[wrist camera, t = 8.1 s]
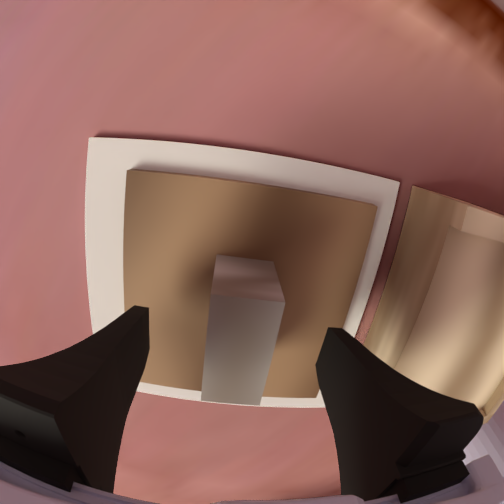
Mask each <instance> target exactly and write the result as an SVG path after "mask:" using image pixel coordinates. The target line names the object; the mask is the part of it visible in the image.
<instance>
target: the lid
mask: <svg viewBox="0 0 504 504" xmlns="http://www.w3.org/2000/svg"><path fill="white" fill-rule="evenodd" d="M377 208H378V206H376V205H374V204H372V203H367V202H362V201H357V200H352V199H347V198H342V197H337V196H332V195H326V194H321V193H315V192H310V191H304V190H298V189H292V188H286V187H280V186H274V185H267V184H261V183H254V182H247V181H240V180H233V179H225V178H217V177H209V176H201V175H192V174H183V173H174V172H164V171H153V170H142V169H129V170H127V174H126V187H125V204H124V230H123V285H124V311H125V312H126V311H127V310H129V309H130V308H131V307H133V306H134V305H136V306H142V307H149V336H150V350H149V354H148V358H147V362H146V366H145V370H144V372H143V375H142V377H141V380H140V382H143V383H149V384H154V385H160V386H167V387H173V388H180V389H187V390H195V391H201V401H210V402H219V403H230V404H243V405H259V406H260V402H261V399H262V397H281V398H316V397H317V395H318V392H319V390H320V388H319V385H318V379H317V373H316V366H315V364H316V362H317V359H318V356H319V353H320V350H321V347H322V344H323V341H324V338H325V335H326V332H327V329H328V327H335V328H343V326H344V323H345V320H346V317H347V314H348V311H349V308H350V305H351V302H352V299H353V296H354V292H355V289H356V286H357V283H358V279H359V276H360V272H361V269H362V266H363V262H364V258H365V255H366V251H367V248H368V244H369V240H370V236H371V232H372V228H373V224H374V220H375V216H376V212H377Z"/></svg>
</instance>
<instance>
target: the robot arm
mask: <svg viewBox="0 0 504 504" xmlns="http://www.w3.org/2000/svg"><path fill="white" fill-rule="evenodd" d="M149 350H150V336H149V307H142V306H136V305H134V306H133V307H131V308H130V309H129V310H127V311H126V312H124V313H123V314H122V315H120V316H119V317H118V318H116V319H115V320H114V321H112V322H111V323H110V324H108V325H107V326H105V327H104V328H102V329H101V330H99V331H98V332H96V333H94V334H93V335H91V336H90V337H88V338H86V339H85V340H83V341H81V342H79V343H77V344H75V345H73V346H71V347H69V348H67V349H65V350H62V351H59V352H57V353H54V354H52V355H49V356H46V357H43V358H40V359H36V360H32V361H28V362H24V363H19V364H13V365H7V366H0V504H158V503H152V502H147V501H142V500H137V499H133V498H128V497H124V496H120V495H116V494H113V490H114V481H115V474H116V467H117V461H118V455H119V450H120V444H121V439H122V435H123V430H124V426H125V422H126V418H127V415H128V411H129V408H130V406H131V403H132V401H133V398H134V395H135V393H136V390H137V388H138V385H139V383H140V380H141V377H142V375H143V372H144V370H145V366H146V362H147V358H148V354H149ZM315 366H316V373H317V379H318V385H319V388H320V391H321V394H322V398H323V401H324V404H325V407H326V410H327V413H328V416H329V419H330V422H331V425H332V429H333V433H334V438H335V443H336V449H337V455H338V463H339V470H340V482H341V495H334V496H326V497H317V498H305V499H290V500H235V501H220V502H216V503H212V504H504V401H503V402H502V403H501V405H500V406H499V408H498V409H497V410H496V412H495V413H494V415H493V416H492V417H491V419H490V420H489V421H488V422H487V423H485V424H483V420H484V417H483V415H482V414H481V412H480V411H479V410H478V408H477V407H476V405H475V404H474V403H470V402H466V401H462V400H459V399H455V398H452V397H449V396H446V395H443V394H440V393H438V392H435V391H433V390H431V389H428V388H426V387H424V386H422V385H420V384H418V383H416V382H414V381H412V380H411V379H409V378H407V377H406V376H404V375H402V374H401V373H399V372H397V371H396V370H394V369H393V368H392V367H390V366H389V365H387V364H386V363H385V362H383V361H382V360H381V359H379V358H378V357H377V356H376V355H374V354H373V353H372V352H371V351H369V350H368V349H367V348H366V347H365V346H364V345H362V344H361V343H360V342H359V341H358V340H356V339H355V338H354V337H353V336H352V335H350V334H349V333H348V332H347V331H345V330H344V329H343V328H335V327H328V329H327V332H326V335H325V338H324V341H323V344H322V347H321V350H320V353H319V356H318V359H317V362H316V364H315Z"/></svg>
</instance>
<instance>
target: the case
mask: <svg viewBox="0 0 504 504" xmlns="http://www.w3.org/2000/svg"><path fill="white" fill-rule="evenodd" d="M364 346H365V347H366V348H367V349H368V350H369V351H371V352H372V353H373V354H374V355H376V356H377V357H378V358H379V359H381V360H382V361H383V362H385V363H386V364H387V365H389V366H390V367H392V368H393V369H394V370H396V371H397V372H399V373H401V374H402V375H404V376H406V377H407V378H409V379H411V380H412V381H414V382H416V383H418V384H420V385H422V386H424V387H426V388H428V389H431V390H433V391H435V392H438V393H440V394H443V395H446V396H449V397H452V398H455V399H459V400H462V401H466V402H470V403H474V404H475V405H476V407H477V408H478V410H479V411H480V412H481V414H482V415H483V417H484V420H483V424H485V423H487V422H488V421H489V420H490V419H491V417H492V416H493V415H494V413H495V412H496V410H497V409H498V408H499V406H500V405H501V403H502V402H503V401H504V215H501V214H498V213H496V212H493V211H490V210H487V209H485V208H482V207H479V206H476V205H473V204H470V203H467V202H465V201H462V200H459V199H455V198H452V197H449V196H446V195H443V194H440V193H436V192H433V191H430V190H427V189H423V188H420V187H416V186H413V185H412V190H411V195H410V199H409V203H408V207H407V211H406V216H405V219H404V223H403V227H402V231H401V235H400V238H399V242H398V245H397V249H396V252H395V256H394V259H393V262H392V266H391V269H390V272H389V275H388V278H387V281H386V284H385V287H384V290H383V293H382V296H381V299H380V302H379V305H378V308H377V311H376V313H375V316H374V319H373V321H372V324H371V327H370V329H369V332H368V334H367V337H366V340H365V342H364Z"/></svg>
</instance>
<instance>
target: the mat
mask: <svg viewBox="0 0 504 504" xmlns="http://www.w3.org/2000/svg"><path fill="white" fill-rule="evenodd" d="M129 169H142V170H153V171H164V172H174V173H183V174H192V175H201V176H209V177H217V178H225V179H233V180H240V181H247V182H254V183H261V184H267V185H274V186H280V187H286V188H292V189H298V190H304V191H310V192H315V193H321V194H326V195H332V196H337V197H342V198H347V199H352V200H357V201H362V202H367V203H372V204H374V205H376V206H378V208H377V212H376V216H375V220H374V224H373V228H372V232H371V236H370V240H369V244H368V248H367V251H366V255H365V258H364V262H363V266H362V269H361V272H360V276H359V279H358V283H357V286H356V289H355V292H354V296H353V299H352V302H351V305H350V308H349V311H348V314H347V317H346V320H345V323H344V326H343V329H344V330H345V331H347V332H348V333H349V334H350V335H352V336H353V337H355V334H356V332H357V329H358V326H359V324H360V321H361V318H362V315H363V312H364V309H365V306H366V304H367V301H368V298H369V295H370V292H371V288H372V285H373V282H374V279H375V276H376V273H377V269H378V266H379V263H380V259H381V256H382V252H383V249H384V245H385V242H386V238H387V234H388V230H389V226H390V223H391V219H392V215H393V210H394V206H395V202H396V198H397V193H398V189H399V184H400V182H398V181H394V180H391V179H387V178H383V177H379V176H375V175H371V174H367V173H363V172H358V171H354V170H350V169H345V168H341V167H336V166H332V165H327V164H322V163H317V162H312V161H307V160H302V159H296V158H291V157H285V156H279V155H273V154H267V153H261V152H255V151H248V150H241V149H234V148H226V147H218V146H210V145H201V144H192V143H182V142H171V141H158V140H144V139H127V138H102V137H89V143H88V155H87V169H86V190H85V248H86V269H87V283H88V295H89V305H90V314H91V323H92V330H93V334H94V333H96V332H98V331H99V330H101V329H102V328H104V327H105V326H107V325H108V324H110V323H111V322H112V321H114V320H115V319H116V318H118V317H119V316H120V315H122V314H123V313H124V312H125V311H124V285H123V230H124V204H125V187H126V174H127V170H129ZM136 391H138V392H143V393H149V394H154V395H160V396H166V397H173V398H180V399H187V400H194V401H201V391H195V390H187V389H180V388H173V387H167V386H160V385H154V384H149V383H143V382H140V383H139V385H138V388H137V390H136ZM203 402H210V401H203ZM212 403H219V402H212ZM221 404H230V403H221ZM233 405H243V404H233ZM246 406H259V405H246ZM260 406H263V407H298V408H314V407H325V404H324V401H323V398H322V394H321V391H320V390H319V392H318V395H317V397H316V398H281V397H262V399H261V402H260Z"/></svg>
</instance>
